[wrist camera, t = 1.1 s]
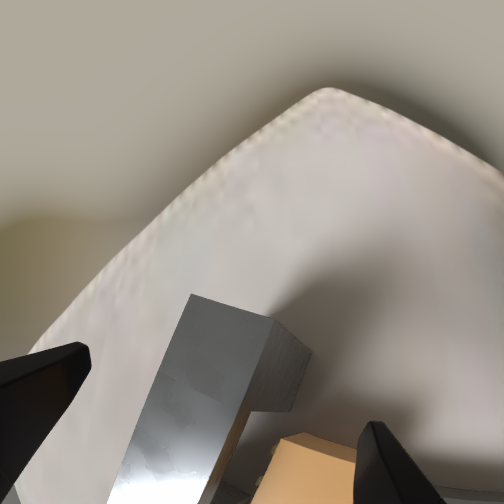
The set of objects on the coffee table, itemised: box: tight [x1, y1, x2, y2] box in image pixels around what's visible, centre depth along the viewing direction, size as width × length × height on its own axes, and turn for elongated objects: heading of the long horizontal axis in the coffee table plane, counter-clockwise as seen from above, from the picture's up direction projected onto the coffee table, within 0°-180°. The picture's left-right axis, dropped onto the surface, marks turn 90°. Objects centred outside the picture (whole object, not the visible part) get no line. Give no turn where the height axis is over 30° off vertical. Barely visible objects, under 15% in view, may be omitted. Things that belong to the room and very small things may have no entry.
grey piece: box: [107, 294, 312, 504], centre depth 16 cm, size 5×16×8 cm, turn 158°
